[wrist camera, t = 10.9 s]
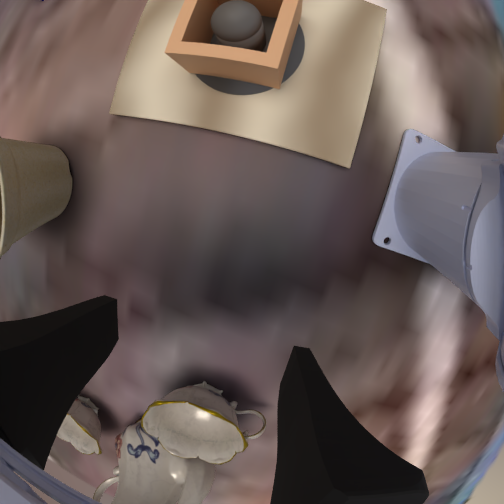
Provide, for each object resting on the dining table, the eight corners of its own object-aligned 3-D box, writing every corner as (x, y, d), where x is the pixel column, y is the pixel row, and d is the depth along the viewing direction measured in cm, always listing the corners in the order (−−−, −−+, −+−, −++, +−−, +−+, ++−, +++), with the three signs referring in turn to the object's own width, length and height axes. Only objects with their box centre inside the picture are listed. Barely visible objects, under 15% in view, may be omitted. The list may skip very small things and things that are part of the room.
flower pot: (94, 122, 18) (6, 116, 9) (90, 243, 21) (13, 285, 12) (22, 130, 18) (-51, 135, 10) (21, 229, 21) (-45, 257, 13)
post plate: (382, 15, 13) (408, -22, 8) (346, 167, 17) (371, 171, 12) (166, -21, 13) (136, -56, 8) (116, 115, 17) (67, 107, 12)
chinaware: (227, 325, 23) (132, 500, 7) (304, 448, 25) (292, 584, 9) (57, 381, 30) (-18, 448, 14) (126, 465, 32) (79, 538, 16)
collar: (301, 14, 13) (304, -18, 9) (279, 89, 15) (277, 68, 11) (214, 1, 13) (198, -29, 9) (189, 72, 15) (164, 52, 11)
